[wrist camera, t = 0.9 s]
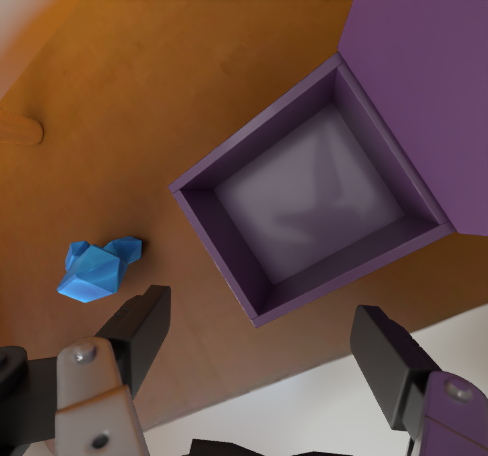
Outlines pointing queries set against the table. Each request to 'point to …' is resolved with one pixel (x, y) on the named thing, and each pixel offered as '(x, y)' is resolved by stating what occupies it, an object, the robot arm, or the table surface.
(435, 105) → the lid
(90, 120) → the table surface
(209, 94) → the table surface
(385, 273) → the table surface
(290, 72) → the table surface
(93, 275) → the gemstones
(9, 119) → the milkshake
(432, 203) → the box
